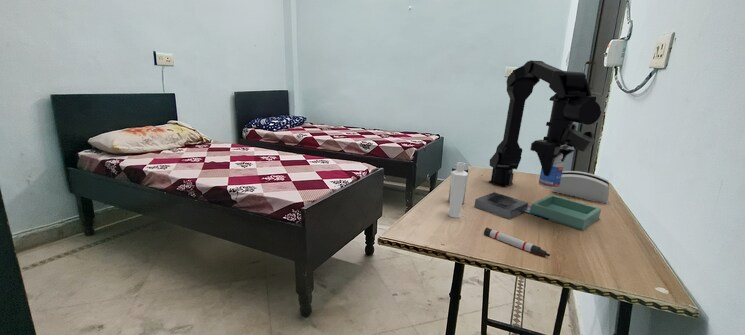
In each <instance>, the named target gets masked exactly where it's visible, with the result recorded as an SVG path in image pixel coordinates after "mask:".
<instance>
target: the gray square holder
mask: <svg viewBox="0 0 745 335" xmlns="http://www.w3.org/2000/svg"><path fill="white" fill-rule="evenodd" d="M500 204H503V205H506V206H507V207H506V206H503V205H500ZM528 205H529V202H528V201H524V200H521V199H518V198H515V197H511V196H507V195H505V194H502V193H499V192H495V191H494V192H491V193H488V194H486V195H482V196H480V197H478V198H475V200H474V208H476V209H480V210H482V211H485V212H488V213H490V214H493V215H496V216H499V217H501V218H505V219H508V220H510V219H512V218H515V217H516V216H519V215H521V214H524V213H523V212H524V211H525V210H527V208H528Z"/></svg>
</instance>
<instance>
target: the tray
mask: <svg viewBox="0 0 745 335" xmlns="http://www.w3.org/2000/svg"><path fill="white" fill-rule="evenodd" d="M530 206H531V209H530V213H533V214H536V215H539V216H542V217H545V218H548V219H549V220H548V221H552V222H555V223H558V224H561V225H565V226H568V227H569V228H574V229H576V230H580V231H584V230H585V229H586V228H588V227H589V226H591V225H592V224H593V223H594V222H597V221H598V219H600V216H601V215H600V214H601V211H602V208H601V207H597V206H593V205H590V204H587V203H582V202H580V201H576V200H571V199H569V198H565V197H562V196H557V195H554V194H549V195H548V196H545V197H543V198H541V199H539V200H538V199H537V201H535V202H532V203H531V205H530Z"/></svg>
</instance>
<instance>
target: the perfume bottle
mask: <svg viewBox="0 0 745 335" xmlns="http://www.w3.org/2000/svg"><path fill="white" fill-rule="evenodd" d="M456 163H457V170H455V171H452V170H451V171H450V182H451V188H450V187H449V191H450V201H449V209H448V212H447V215H448V216H449V217H450V218H457V219H458V218H459V219H460V218H461V217H462V207H463V203H462V202H463V198H464V193H465V194H466V192H465V188H466V189H467V185H466V183H468V177H469V172H468V173H467V172H466V171H464V165H465V164H466V163H465V162H460V161H459V162H456Z"/></svg>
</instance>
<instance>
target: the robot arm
mask: <svg viewBox="0 0 745 335" xmlns="http://www.w3.org/2000/svg"><path fill="white" fill-rule="evenodd" d="M540 80H541V81H544V82H546V83H547V84H549V85H548V87H549V89H550V90H551V91H553V92H554V94H553V95H552V96H550V98H549V101H550V102H551V101H552V107H551V111H550V113H551V114H550V118H549V121H547V122H545V123H546V124H545V126H547V128H548V129H547V133H546V136H543V139H536V140H534V141H532V142H531V143H530V151H532V152H535V153H536V155H537V157H538V160H539V163H540V166H541V168H542V169H543V173H544V175H545V176H549V174H550V172H551V169H552V166H553V163H554V160H555V158H557V157H558V156H560V155H561V154H560V153H562V154H563V158H562V159H561V161H562V162H563V163H564V161H565V160H566V158H567V156H568V155H571V154H572V153H574V152H576V150H578V151H580V152H583V153H584V152H589V150H590V149H591V147H592V146H593V145H594V144H595V143H596V142H595V141H596V138H595V132H593V131H590V130H588V131H587V130H586V131H584V133H583V131H579V130H577V125H576V123H578V124H581V125H587V126H588V125H592V124H595V123H596V122H597V121H598V120H599V119H600V118H601V114H602V109H601V105H600V104H599V103H598V102H596V101H597V96H593V95H592V91H591V89H590V86H589V83H588V80H587V75H586V74H585V73H584V72H582V71H568V70H567V71H566V70H563V69H560V68H558V67H555V66H552V65H550V64H547V63H546V62H545V61H542V60H533V59H532V60H527V61H526V62H525V63H524V64H523V65H522V66H518V67H517V68H515V69H514V70H513V71H512V72H511V73H510V74H509V75H508V77H507V78H506V93H507V95H508V97H509V105H508V110H507V113H506V114H507V116H506V122H505V127H504V133H503V140H501V142H500V143H499V144H498V145H497V146H496V150H495V153H494V154H493V155H492V157H490V159H489V166H490V167H491V168H492V172H491V179H490V180H488V183H489V184H493V185H496V186H499V187H503V188H506V187H508V186H511V185H513V180H514V170H518V168H519V165H520V163H521V160H522V153H523V148H522V147H520V144H519V137H520V132H521V126H522V121H523V115H524V110H525V105H526V100H527V99H528V98H529V97H530V96H531V95H532V94H533V91H534V87H535V86H536V85H537V84H538V83H539V82H540ZM571 147H572V148H573V149H571Z"/></svg>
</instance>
